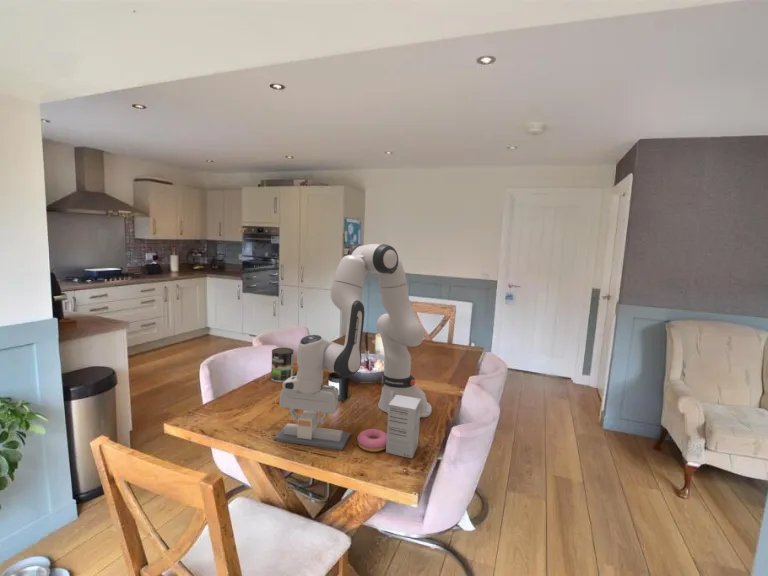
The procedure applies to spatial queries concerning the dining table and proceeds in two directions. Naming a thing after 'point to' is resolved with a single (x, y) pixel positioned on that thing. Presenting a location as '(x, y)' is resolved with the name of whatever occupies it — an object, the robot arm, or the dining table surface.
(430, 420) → the dining table surface
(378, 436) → the doughnut
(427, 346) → the dining table surface
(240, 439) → the dining table surface
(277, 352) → the coffee can
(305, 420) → the block
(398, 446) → the supplement box
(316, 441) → the rail
